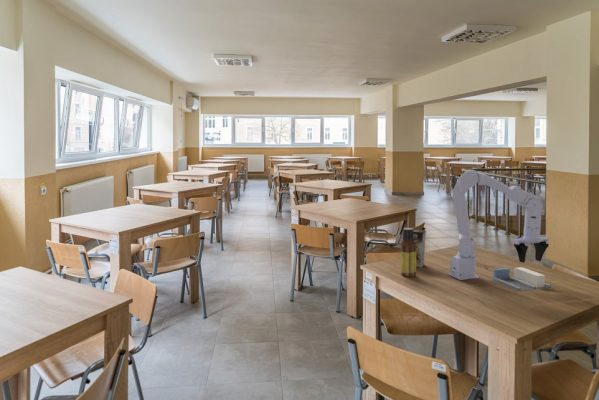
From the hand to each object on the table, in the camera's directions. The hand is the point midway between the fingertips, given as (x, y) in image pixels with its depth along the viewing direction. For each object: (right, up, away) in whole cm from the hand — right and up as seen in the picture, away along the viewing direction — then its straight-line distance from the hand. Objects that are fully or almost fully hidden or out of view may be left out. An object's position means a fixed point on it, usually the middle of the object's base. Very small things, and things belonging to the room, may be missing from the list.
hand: (530, 261), depth 178 cm
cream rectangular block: (0, -9, +1) cm, 9 cm away
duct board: (-3, -9, 0) cm, 10 cm away
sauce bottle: (-45, -8, +12) cm, 47 cm away
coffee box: (-39, -6, +28) cm, 48 cm away
